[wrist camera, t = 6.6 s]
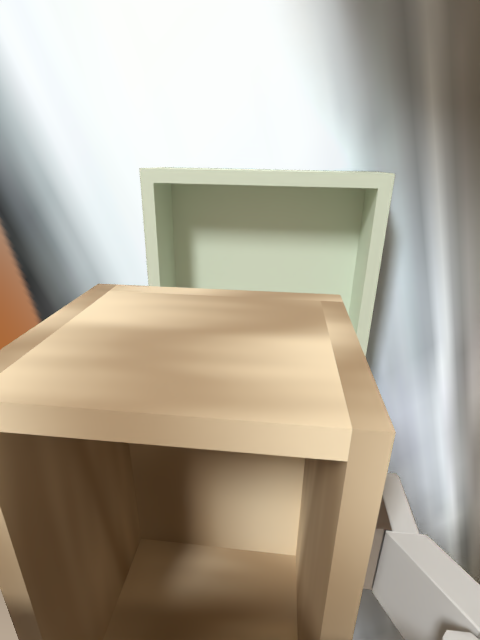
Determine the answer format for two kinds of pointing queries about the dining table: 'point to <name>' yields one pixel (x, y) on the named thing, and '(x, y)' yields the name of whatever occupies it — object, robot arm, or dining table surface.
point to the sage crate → (269, 232)
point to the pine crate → (189, 467)
